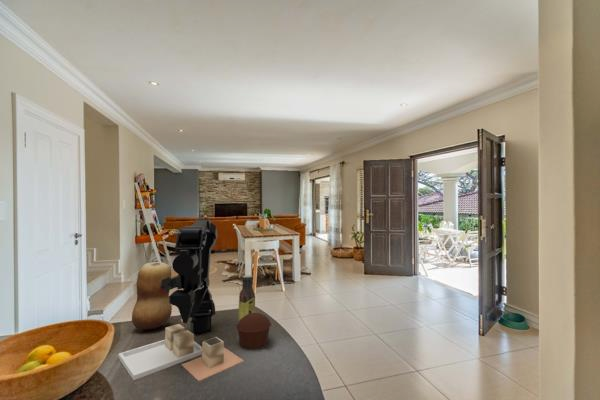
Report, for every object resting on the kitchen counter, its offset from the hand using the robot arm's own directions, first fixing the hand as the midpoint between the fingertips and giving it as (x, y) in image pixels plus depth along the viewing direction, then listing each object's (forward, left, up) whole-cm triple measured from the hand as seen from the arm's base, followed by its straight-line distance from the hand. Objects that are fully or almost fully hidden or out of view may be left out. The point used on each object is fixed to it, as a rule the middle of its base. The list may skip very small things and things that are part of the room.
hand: (190, 316), depth 88 cm
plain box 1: (+1, -9, -12) cm, 15 cm away
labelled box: (-3, +10, -11) cm, 15 cm away
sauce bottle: (-25, -5, -12) cm, 28 cm away
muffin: (-19, +8, -12) cm, 24 cm away
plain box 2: (+1, -2, -12) cm, 12 cm away
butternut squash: (+1, -30, -12) cm, 33 cm away
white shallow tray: (+6, -5, -12) cm, 15 cm away
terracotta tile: (-3, +10, -12) cm, 16 cm away
